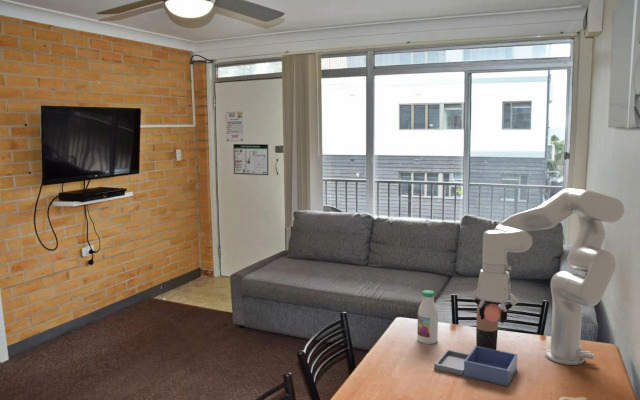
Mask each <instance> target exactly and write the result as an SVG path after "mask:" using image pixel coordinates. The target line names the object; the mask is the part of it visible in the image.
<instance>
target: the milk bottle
mask: <svg viewBox="0 0 640 400" xmlns="http://www.w3.org/2000/svg"><path fill="white" fill-rule="evenodd" d="M421 298H422V300H421V302H420V305H419V307H418V310H417V333H416V334H417V338H416V339H417V341H418V342H419V343H421V344H426V345H431V344H432V345H433V344H435V343H437V342H438V337H439V336H438V335H439V334H438V331H439V329H438V327H439V326H438V324H439V322H438V321H439V315H438V308H437V305H436V303H435V301H434V300H435V299H434V298H435V291H433V290H432V289H431V290H429V289H425V290H422V291H421Z"/></svg>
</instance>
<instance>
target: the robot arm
mask: <svg viewBox="0 0 640 400" xmlns="http://www.w3.org/2000/svg"><path fill="white" fill-rule="evenodd" d="M624 214H625V206H624V204H623V202H622V201H621V200H620V199H618V198H617V197H612V196H610V195H607V194H603V193H599V192H595V191H593V190H588V189H582V188H581V189H580V188H573V187H571V188H569V187H567V188H563V189H561V190H560V191H558V192H557V193H555V194H554V195H552V196H551V197H550V198H548V199H547V200H545V201H544V202H542V203H541V204H539V205H538V206H536V207H533V208H531V209H527V210H524V211H522V212H518V213H515V214H512V215H510V216H509V217H507V218H506V219H504V220H503V221H501V222H500V223H498V225H496V226H495V227H494V228H493V229H488V230H485V231H484V232H483V234H482V235H483V236H482V269H480V272H479V276H478V283H477V288H476V289H475V290H474V291H472V292H471V293H470V295H469V297H470V298H471V299H472V300H473V301H474V302H475V304H476V306H477V305H478V307H479V308H480V311H479V316H481V319H482V320H483V319H484V318H485V316H484V309H485V306H484V303H485V301H491V302H497V303H498V304H500V307H501V309H502V311H501V319H500V323H501V324H504V323H505V321H507V320H508V311H509V310H510V309H511V308H512V307H514V306H516V305H517V304H518V303H519V300H518V299H517V298H516V296H515V295H514V294H513V293H512V292H511V291H512V289H511V277H510V272H509V271H511V270H512V266H511V265H508V263H507V257H508V253H525V252H526V251H528V250H529V249H530V248H531V247H532V245H533V237H532V235H531V234H530V233H529V232H531V231H532V232H533V231H543V230H544V231H545V230H549V229H553V228H556V226H557V225H559V224H560V223H561V222H563V221H564V220H565V219H568V218H569V217H570V216H572V215H577V219H578V223H579V229H578V232H577V235H576V237H575V240H574V241H573V244H572V246H571V248H570V250H569V253H568V255H567V258H566V263H567V265H568V266H569V267H570V268H571V269H572V270H575V271H577V272H580V273H584V274H586V276H585V275H582V274H578V273H576V272H572V271H566V270H561V271H557V272H556V273H554V275H553V276H552V277H551V279H550V291H551V297H552V299H551V300H552V312H551V314H552V315H551V316H552V317H551V334H550V335H551V337H550V348H547V349H546V350H545V357H546V358H548V360H551V362H552V361H553V362H555V363H557V364H560V365H561V364H562V365H567V366H568V365H569V366H577V365H581V364H583V363H584V361H585V359H588V360H594V356H595V354H594V353H591V351H588V350H584V349H582V345H581V338H582V337H581V335H582V334H581V332H582V320H583V310H582V307H581V306H583V307H594V306H597V305H598V303H600V301H602V299H603V296H604V294H605V293H606V291H607V288H608V287H609V285H610V282H611V280H612V278H613V276H614V273H615V270H616V258H615V256H614V255H613V253H611V252H610V251H609V250H606V249H602V246H603V244H604V241H605V239H606V230H605V227H604V225H603V223H609V224H610V223H611V224H612V223H616V222H618V221H620V220H622V218H623V216H624ZM509 300H510V301H511V302H509ZM508 302H509V303H508Z"/></svg>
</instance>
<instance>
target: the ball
mask: <svg viewBox="0 0 640 400" xmlns="http://www.w3.org/2000/svg"><path fill="white" fill-rule="evenodd" d="M501 311H502V307H501V306H499V304H498V305H496V304H489V305H487V306H486V307H485V309H484V316H485V318H486V319H487V320H488V321H490V322H497V321H498V322H499V321H501Z"/></svg>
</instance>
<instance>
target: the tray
mask: <svg viewBox="0 0 640 400" xmlns="http://www.w3.org/2000/svg"><path fill="white" fill-rule="evenodd" d="M469 354H470V353H468V352H467V353H465V352H462V351H457V350H452V349H446V350H445V351H444V352H442V355H441V356H440V357H439V358H438V359H437V360H436V361H435V362H434V365H433V366H434V367H433V370H436V371H441V372H444V373H448V374H453V375H457V376H460V377H464V361H465V359H466V358H467V357H468V355H469Z"/></svg>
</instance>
